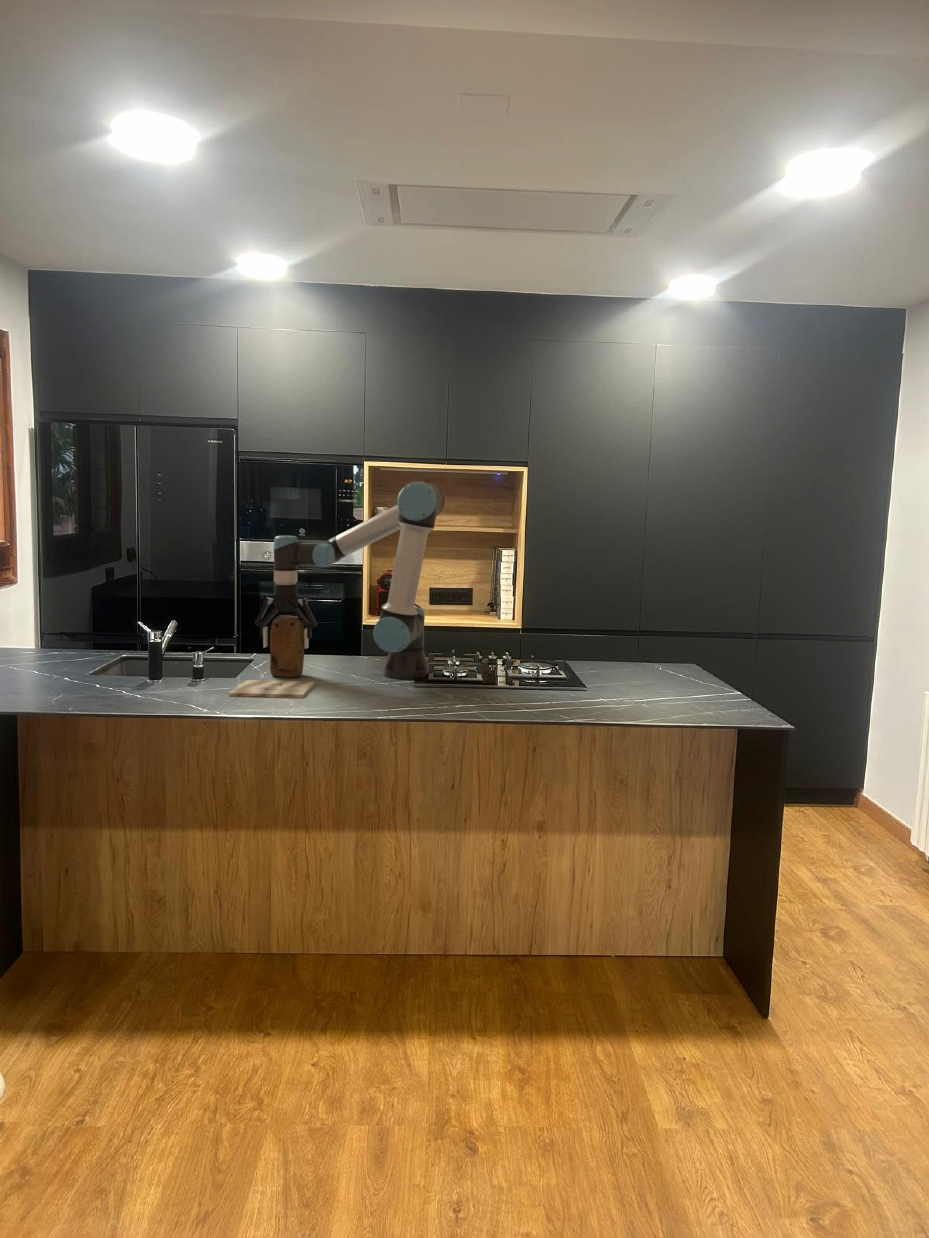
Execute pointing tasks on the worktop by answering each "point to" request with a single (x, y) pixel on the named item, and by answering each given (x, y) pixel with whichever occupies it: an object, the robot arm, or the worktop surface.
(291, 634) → the block
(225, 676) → the worktop surface
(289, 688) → the wooden cutting board
